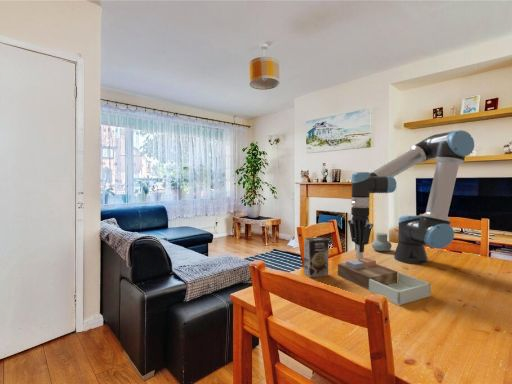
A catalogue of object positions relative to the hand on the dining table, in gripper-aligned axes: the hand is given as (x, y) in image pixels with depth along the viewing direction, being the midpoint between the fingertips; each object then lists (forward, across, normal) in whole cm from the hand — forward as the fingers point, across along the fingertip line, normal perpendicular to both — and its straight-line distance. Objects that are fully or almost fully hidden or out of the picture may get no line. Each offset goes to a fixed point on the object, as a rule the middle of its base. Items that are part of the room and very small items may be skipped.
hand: (359, 258), depth 123 cm
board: (+6, +7, -3) cm, 10 cm away
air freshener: (+7, -22, +39) cm, 45 cm away
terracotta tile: (+1, +4, 0) cm, 5 cm away
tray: (+6, +23, -3) cm, 24 cm away
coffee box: (+7, -6, -19) cm, 21 cm away
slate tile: (+1, +4, -7) cm, 8 cm away
